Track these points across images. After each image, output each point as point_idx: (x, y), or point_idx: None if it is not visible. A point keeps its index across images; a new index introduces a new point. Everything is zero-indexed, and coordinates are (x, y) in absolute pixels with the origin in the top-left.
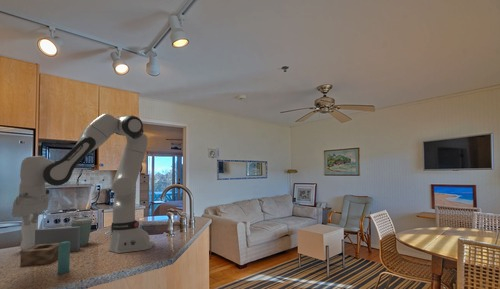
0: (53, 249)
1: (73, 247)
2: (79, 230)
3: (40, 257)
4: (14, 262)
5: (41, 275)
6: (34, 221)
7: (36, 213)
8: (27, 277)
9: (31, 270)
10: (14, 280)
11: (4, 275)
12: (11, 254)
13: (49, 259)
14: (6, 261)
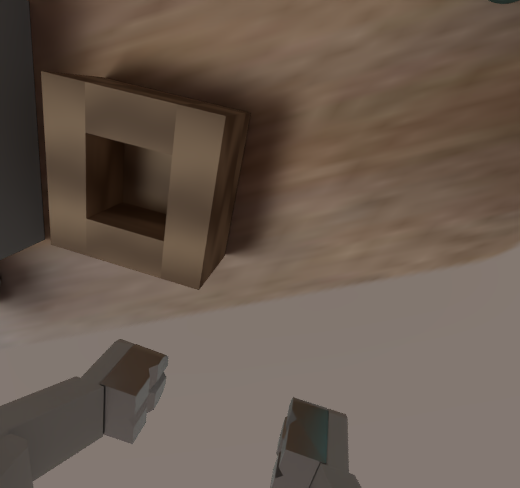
0: (193, 107)
1: (9, 25)
2: None
3: (229, 175)
4: (153, 289)
5: (482, 104)
6: (155, 376)
7: (10, 485)
8: (464, 175)
9: (335, 186)
10: (473, 226)
11: (347, 285)
12: (30, 323)
13: (244, 120)
14: (126, 320)
